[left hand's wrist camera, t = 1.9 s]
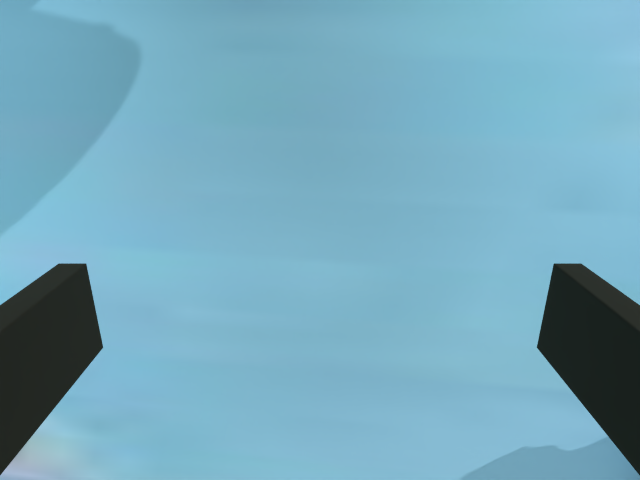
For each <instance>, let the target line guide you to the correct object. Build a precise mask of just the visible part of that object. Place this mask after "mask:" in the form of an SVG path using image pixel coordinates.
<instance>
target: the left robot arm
mask: <svg viewBox="0 0 640 480" xmlns="http://www.w3.org/2000/svg"><path fill="white" fill-rule="evenodd" d="M102 348H103V345H102V340H101V335H100V330H99V325H98V320H97V315H96V310H95V305H94V300H93V295H92V290H91V285H90V280H89V275H88V271H87V266H86V264H58V265H56V266H55V267H53V268H52V269H51V270H49V271H48V272H46V273H45V274H44V275H42V276H41V277H39V278H38V279H37V280H35V281H34V282H32V283H31V284H30V285H28V286H27V287H25V288H24V289H23V290H21V291H20V292H18V293H17V294H16V295H14V296H13V297H11V298H10V299H9V300H7V301H6V302H4V303H3V304H1V305H0V475H1V474H2V472H3V471H4V470H5V469H6V467H7V466H8V465H9V464H10V462H11V461H12V460H13V459H14V457H15V456H16V455H17V454H18V453H19V451H20V450H21V449H22V448H23V446H24V445H25V444H26V443H27V441H28V440H29V439H30V438H31V436H32V435H33V434H34V433H35V431H36V430H37V429H38V428H39V426H40V425H41V424H42V423H43V421H44V420H45V419H46V418H47V416H48V415H49V414H50V413H51V411H52V410H53V409H54V408H55V407H56V405H57V404H58V403H59V402H60V400H61V399H62V398H63V397H64V395H65V394H66V393H67V392H68V390H69V389H70V388H71V387H72V385H73V384H74V383H75V382H76V380H77V379H78V378H79V377H80V375H81V374H82V373H83V372H84V370H85V369H86V368H87V367H88V366H89V364H90V363H91V362H92V361H93V359H94V358H95V357H96V356H97V354H98V353H99V352H100V351H101V349H102ZM537 348H538V349H539V351H540V352H541V353H542V354H543V356H544V357H545V358H546V359H547V361H548V362H549V363H550V364H551V366H552V367H553V368H554V369H555V370H556V372H557V373H558V374H559V375H560V377H561V378H562V379H563V380H564V382H565V383H566V384H567V385H568V387H569V388H570V389H571V390H572V392H573V393H574V394H575V395H576V397H577V398H578V399H579V400H580V402H581V403H582V404H583V405H584V407H585V408H586V409H587V410H588V411H589V413H590V414H591V415H592V416H593V418H594V419H595V420H596V421H597V423H598V424H599V425H600V426H601V428H602V429H603V430H604V431H605V433H606V434H607V435H608V436H609V438H610V439H611V440H612V441H613V443H614V444H615V445H616V446H617V448H618V449H619V450H620V451H621V453H622V454H623V455H624V456H625V457H626V459H627V460H628V461H629V462H630V464H631V465H632V466H633V467H634V469H635V470H636V471H637V472H638V474H639V475H640V305H639V304H637V303H636V302H634V301H633V300H631V299H630V298H629V297H627V296H626V295H624V294H623V293H622V292H620V291H619V290H617V289H616V288H615V287H613V286H612V285H610V284H609V283H608V282H606V281H605V280H603V279H602V278H601V277H599V276H598V275H596V274H595V273H594V272H592V271H591V270H589V269H588V268H587V267H585V266H584V265H582V264H554V266H553V271H552V275H551V280H550V285H549V290H548V295H547V300H546V305H545V310H544V315H543V320H542V325H541V330H540V335H539V340H538V345H537Z"/></svg>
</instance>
